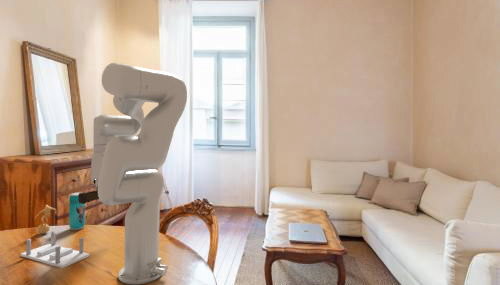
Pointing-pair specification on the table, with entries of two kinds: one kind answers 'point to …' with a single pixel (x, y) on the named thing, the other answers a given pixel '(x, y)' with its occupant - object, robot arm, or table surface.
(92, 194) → the dark brown rough rod
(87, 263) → the table surface
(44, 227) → the figurine
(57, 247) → the peg rack
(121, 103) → the robot arm
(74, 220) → the beverage can
